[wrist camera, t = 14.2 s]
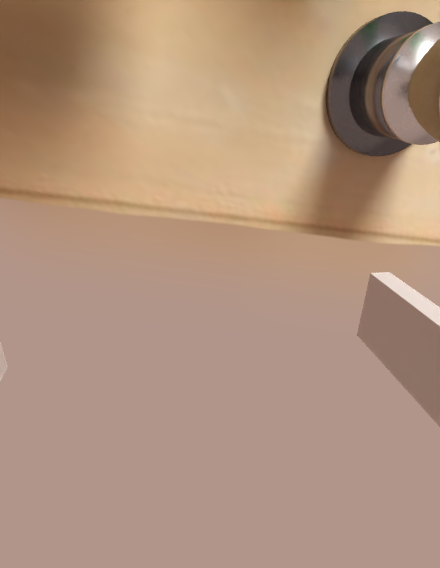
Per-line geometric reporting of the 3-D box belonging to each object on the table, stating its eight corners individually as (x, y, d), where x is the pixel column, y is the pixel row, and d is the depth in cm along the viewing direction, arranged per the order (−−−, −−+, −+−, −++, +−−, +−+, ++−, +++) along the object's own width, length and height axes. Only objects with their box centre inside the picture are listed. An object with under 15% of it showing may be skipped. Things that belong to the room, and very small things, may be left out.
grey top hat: (302, 113, 38) (335, 115, 31) (382, -20, 34) (439, -49, 27) (387, 176, 43) (431, 190, 36) (466, 66, 39) (532, 58, 32)
